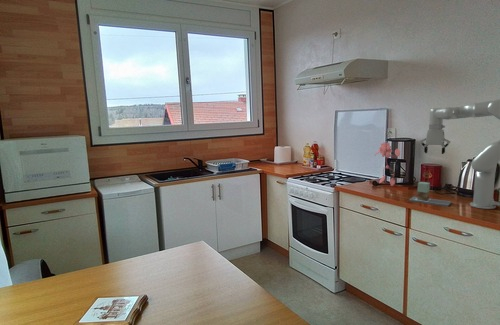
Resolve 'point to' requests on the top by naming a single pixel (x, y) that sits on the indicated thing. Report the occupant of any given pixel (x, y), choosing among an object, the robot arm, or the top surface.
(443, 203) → the baseplate
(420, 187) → the green cube
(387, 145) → the pink flower sprig
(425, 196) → the walnut cube
